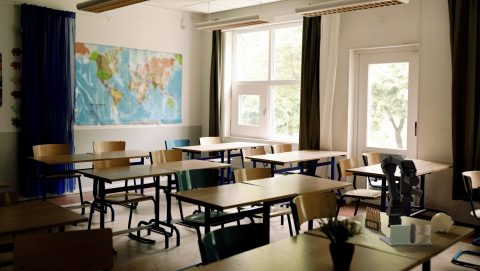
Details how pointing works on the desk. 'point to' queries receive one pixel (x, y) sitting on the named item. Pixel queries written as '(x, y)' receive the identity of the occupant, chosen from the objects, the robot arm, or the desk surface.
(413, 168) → the robot arm
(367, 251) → the desk surface
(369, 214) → the ammunition clip
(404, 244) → the card
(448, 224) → the cream rounded piece
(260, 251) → the desk surface
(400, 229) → the panel
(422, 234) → the fixed fence panel
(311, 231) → the desk surface
